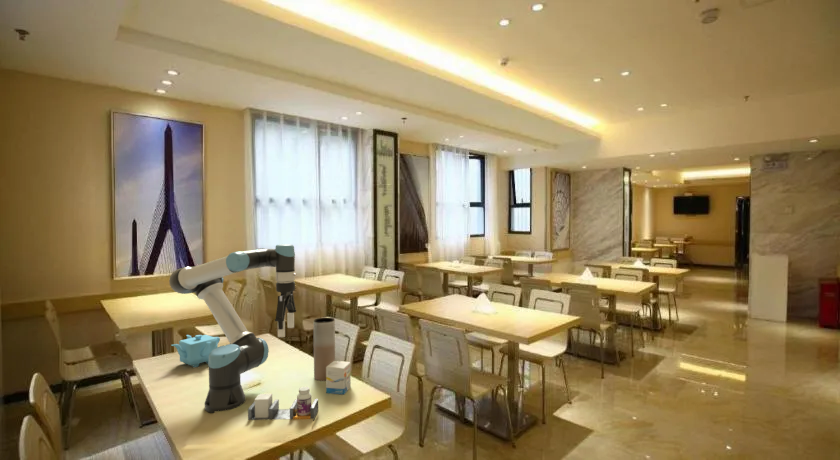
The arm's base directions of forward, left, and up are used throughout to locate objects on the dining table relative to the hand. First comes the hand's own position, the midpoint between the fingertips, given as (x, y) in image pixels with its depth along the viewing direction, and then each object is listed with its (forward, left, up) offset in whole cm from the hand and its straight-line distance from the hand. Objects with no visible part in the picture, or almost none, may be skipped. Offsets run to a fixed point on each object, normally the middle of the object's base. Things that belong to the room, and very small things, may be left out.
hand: (286, 332), depth 176 cm
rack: (+3, -15, -29) cm, 32 cm away
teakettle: (-60, +46, -29) cm, 81 cm away
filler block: (-5, -15, -28) cm, 32 cm away
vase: (+11, +24, -29) cm, 39 cm away
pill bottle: (+11, -15, -28) cm, 33 cm away
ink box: (+20, +9, -29) cm, 36 cm away
